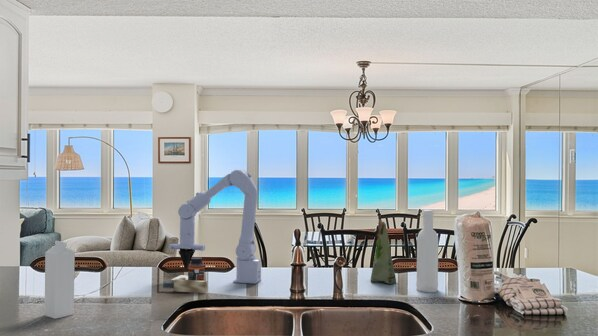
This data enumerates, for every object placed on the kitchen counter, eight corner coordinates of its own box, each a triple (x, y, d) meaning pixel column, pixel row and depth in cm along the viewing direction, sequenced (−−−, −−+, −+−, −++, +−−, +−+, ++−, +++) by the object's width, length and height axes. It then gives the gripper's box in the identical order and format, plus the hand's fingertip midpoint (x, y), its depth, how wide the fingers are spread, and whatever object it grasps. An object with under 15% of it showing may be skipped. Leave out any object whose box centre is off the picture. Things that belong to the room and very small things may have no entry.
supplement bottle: (200, 290, 188) (201, 259, 188) (185, 289, 189) (185, 258, 189) (206, 287, 194) (207, 256, 194) (191, 286, 195) (192, 256, 195)
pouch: (384, 286, 200) (385, 221, 200) (361, 281, 209) (362, 219, 209) (402, 282, 207) (403, 220, 207) (379, 277, 216) (380, 217, 216)
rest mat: (201, 277, 211) (201, 276, 211) (192, 281, 203) (192, 280, 203) (180, 275, 213) (180, 275, 213) (171, 280, 204) (171, 279, 204)
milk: (63, 311, 159) (64, 239, 159) (74, 314, 156) (75, 241, 156) (43, 315, 154) (45, 241, 155) (54, 319, 151) (55, 243, 151)
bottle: (439, 289, 197) (440, 210, 197) (435, 293, 190) (437, 211, 190) (418, 286, 200) (419, 209, 200) (414, 291, 193) (415, 210, 193)
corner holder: (209, 290, 189) (210, 279, 189) (205, 293, 185) (205, 281, 185) (179, 288, 191) (179, 277, 191) (173, 291, 187) (173, 280, 187)
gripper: (165, 234, 205) (165, 268, 205) (200, 235, 203) (199, 270, 203) (173, 232, 212) (173, 265, 212) (207, 233, 210) (206, 267, 210)
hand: (186, 267), depth 208 cm, fingers closed
